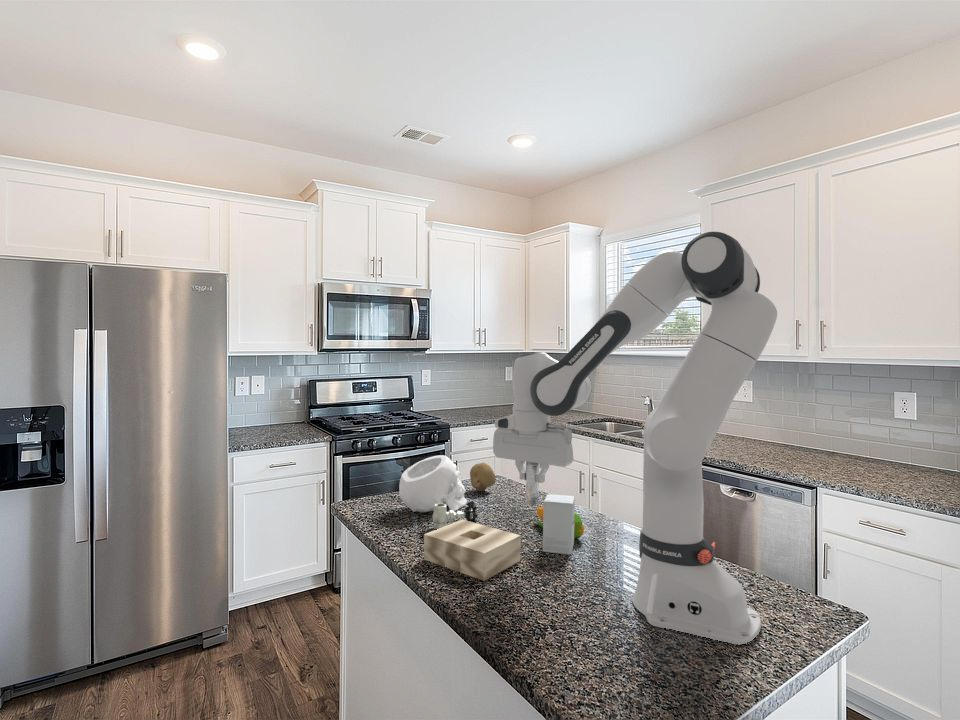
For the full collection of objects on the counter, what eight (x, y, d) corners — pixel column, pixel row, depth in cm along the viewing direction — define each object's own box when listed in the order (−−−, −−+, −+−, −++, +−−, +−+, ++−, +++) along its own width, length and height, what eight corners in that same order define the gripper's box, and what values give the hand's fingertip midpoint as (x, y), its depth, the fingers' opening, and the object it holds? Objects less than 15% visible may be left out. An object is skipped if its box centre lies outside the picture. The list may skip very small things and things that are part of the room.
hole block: (520, 560, 123) (520, 535, 123) (484, 580, 112) (484, 553, 112) (462, 542, 134) (462, 519, 134) (423, 559, 123) (424, 534, 123)
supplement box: (572, 555, 127) (572, 503, 126) (541, 552, 129) (542, 501, 128) (574, 544, 134) (575, 495, 134) (545, 541, 136) (546, 493, 136)
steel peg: (540, 502, 122) (541, 460, 123) (534, 505, 120) (534, 461, 120) (530, 500, 124) (530, 458, 124) (523, 503, 122) (523, 460, 122)
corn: (569, 516, 132) (526, 496, 150) (567, 546, 132) (524, 523, 150) (592, 514, 136) (548, 495, 153) (590, 544, 136) (546, 521, 153)
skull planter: (482, 503, 163) (458, 451, 158) (430, 542, 154) (403, 489, 149) (462, 492, 175) (438, 444, 170) (412, 528, 166) (386, 479, 161)
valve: (436, 533, 141) (477, 528, 146) (436, 509, 141) (477, 504, 146) (429, 525, 147) (468, 520, 152) (429, 502, 147) (469, 498, 152)
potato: (497, 488, 187) (497, 461, 187) (493, 495, 178) (493, 466, 178) (472, 487, 188) (472, 459, 188) (467, 493, 180) (467, 465, 180)
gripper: (578, 423, 118) (578, 484, 118) (504, 417, 131) (504, 472, 131) (564, 426, 113) (565, 490, 113) (489, 420, 126) (489, 477, 126)
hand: (532, 480), depth 122 cm, fingers closed on steel peg, 3 cm apart
